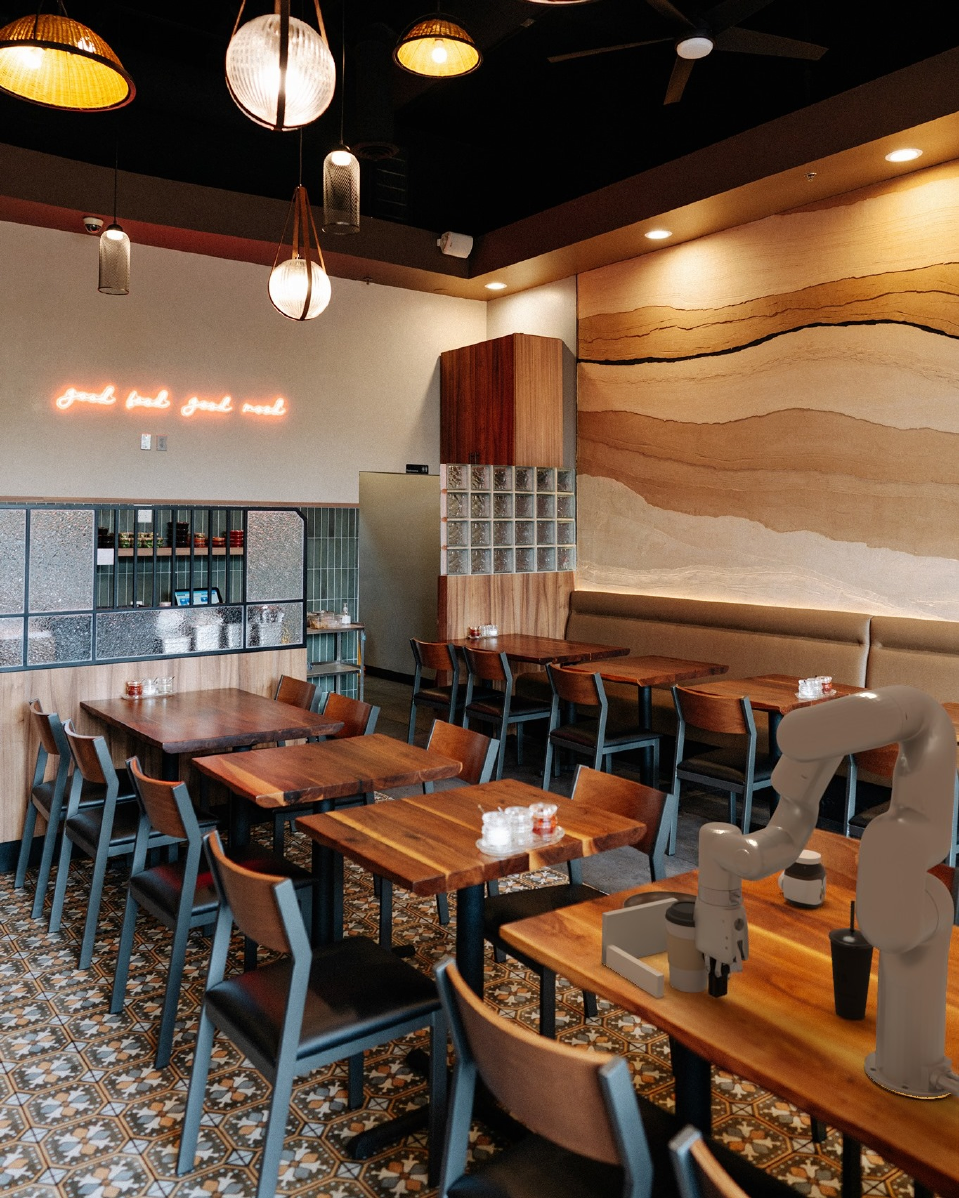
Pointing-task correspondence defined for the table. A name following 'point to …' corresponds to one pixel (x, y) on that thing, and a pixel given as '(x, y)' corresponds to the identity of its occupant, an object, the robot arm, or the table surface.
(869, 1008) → the table surface
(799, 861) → the spread jar
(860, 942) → the drinking cup
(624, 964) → the box
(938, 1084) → the robot arm
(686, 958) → the coffee cup
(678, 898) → the plant saucer
